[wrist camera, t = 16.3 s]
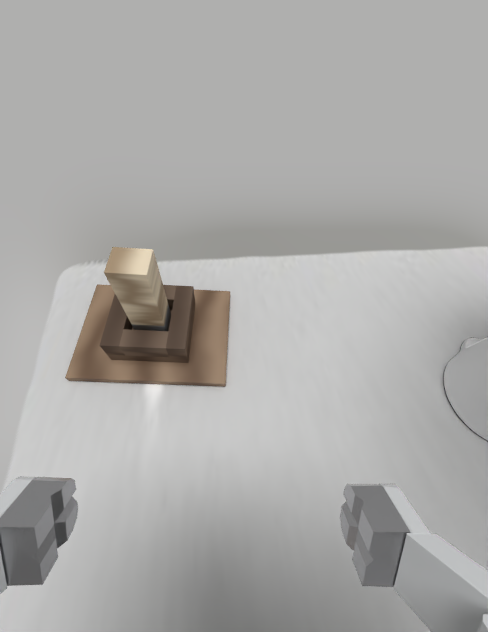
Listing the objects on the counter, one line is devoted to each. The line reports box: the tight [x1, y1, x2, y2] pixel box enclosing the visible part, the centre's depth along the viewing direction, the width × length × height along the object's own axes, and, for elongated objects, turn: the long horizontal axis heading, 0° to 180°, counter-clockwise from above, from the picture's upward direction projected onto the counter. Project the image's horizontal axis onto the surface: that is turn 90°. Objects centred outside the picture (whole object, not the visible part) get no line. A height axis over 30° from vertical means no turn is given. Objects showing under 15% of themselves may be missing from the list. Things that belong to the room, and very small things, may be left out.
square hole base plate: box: [65, 285, 230, 387], centre depth 44 cm, size 22×16×6 cm
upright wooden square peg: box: [104, 247, 171, 331], centre depth 38 cm, size 4×4×14 cm
